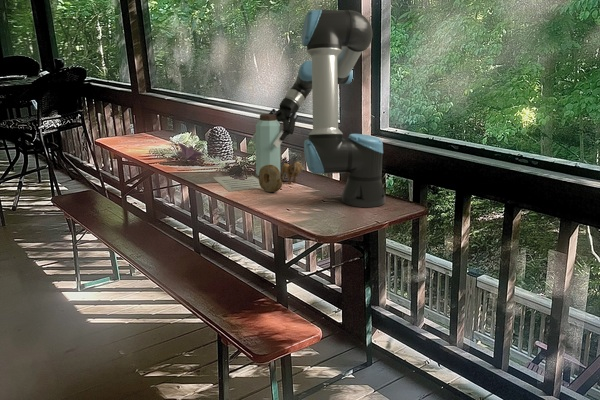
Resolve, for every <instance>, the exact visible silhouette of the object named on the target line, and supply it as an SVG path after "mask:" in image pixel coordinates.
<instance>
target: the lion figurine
mask: <svg viewBox="0 0 600 400" xmlns="http://www.w3.org/2000/svg"><path fill="white" fill-rule="evenodd" d="M281 166H282V167H281V174H280V178H281V181H282V182H284V181H285V179H286V178H287V179H288V185H292V182H293V184H298V181H296V179H297V177H298V175H300V174H301V172H303V171H304V169H305V167H304V166H302V165H301V162H299V161H294V162H292V163H290V164H289V163H283V165H281ZM292 178H293V179H292Z"/></svg>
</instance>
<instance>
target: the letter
mask: <svg viewBox="0 0 600 400" xmlns="http://www.w3.org/2000/svg"><path fill="white" fill-rule="evenodd" d="M251 175H252V176H251V177H248V178H247V179H245V180H239V179H234V178H232V177H230V176H231V175H225V176H214V177H212V179H213V180H215V181H216V182H217V183H218V184H219V185H220V186H222V187H223V188H224V189H225V190H227V191H228V192H234V191H246V190H256V189H257V190H258V189H262V188H261V186H260V184H259V178H257V177H256V176H254V175H253V174H251Z"/></svg>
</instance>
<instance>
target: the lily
mask: <svg viewBox="0 0 600 400" xmlns="http://www.w3.org/2000/svg"><path fill="white" fill-rule="evenodd" d="M178 147H179V148H180V151H177V152H176V154H177V155H179V156H182V157H184V160H185V163H184V164H185V165H184V167H186V165H187V162H186V161H187V160H190V161H193V162H195V161H199V160H198V158H199V157H202V156H204V155H205V154H204V153H202V152H201V151H198V150H195V149H194V146H193V145H190V146H189V147H188V146H186V145H184V144H183V143H180V142H178Z"/></svg>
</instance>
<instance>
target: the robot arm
mask: <svg viewBox="0 0 600 400" xmlns="http://www.w3.org/2000/svg"><path fill="white" fill-rule="evenodd" d="M372 27H373V26H372V25H371V23H370V21H369V20H368V19H367V17H366V16H364V15H363V14H362V13H361V12H358V11H357V10H353V9H352V10H350V9H347V10H346V9H345V10H342V9H341V10H340V9H321V8H320V9H311V10H309V11H307V12H306V14H305V17H304V20H303V26H302V32H301V45H302V46H303V47H305V48H306V52H307V54H308V55H309V56H310V57H311V60H306V61H304V62H303V63H302V64H301V65H300V67H299V69H298V71H297V72H298V73H297V76H296V79H295V82H294V83H293V85H292V86H291V88H290V89H289V90H288V92H287V93H286V94H285V96H284V98H283V99H282V100H281V102H280V103H279V108H278V109H277V110H276V109H275V108H272V109H271V111H270V112H268V114H274V115H276V119H277V121H278V122H279V123H280V122H281V123H282V127H283V128H282V130H280V134H279V135H278V137H277V138H276V140H275V141H274V143H273V145H274V146H275V147H276V148H278V147H279V145H280V146H281V144H282V143H283V141H284V140H285V139H286V137H287V136H289V135H293V134H294V130H295V127H296V121H297V119H298V118H299V115H298V114H297V112H298V111H299V108H301V106H302V105H303V103H304V101H305V100H306V99H307V98H308V96H309V94H310V93H312V100H311V101H312V130H310V131H309V133H308V138H306V139H305V140H304V141H303V153H304V154H303V155H304V159H305V164H306V166H307V169H308V171H309V172H310V173H312V174H319V175H320V174H321V175H324V174H347V179H346V180H347V181H346V183H345V186H344V189H343V192H342V195H341V202H342V203H343V204H345V205H347V206H352V207H357V208H358V207H359V208H375V207H380V206H383V205H385V204H386V194H385V189H384V185H383V182H382V174H383V173H382V171H383V154H384V144H383V140H382V139H380V138H379V137H377V136H373V135H370V134H369V135H368V134H364V133H363V134H362V133H351V134H349V135H348V138H344V133H343V132H342V130H340V128H339V96H338V95H339V94H338V93H339V92H338V91H339V88H338V85H343V86H344V85H350V83H351V82H352V79H353V80H354V78H353V70H352V69H354V67H355V65H356V64H357V61H358V59H359V58H360V57H361V55H362V53H363V52H364V51H366V50H367V49H368V48H369V46H370V44H371V43H372V42H373V41H372V39H373V28H372ZM352 83H353V82H352ZM352 83H351V84H352ZM250 140H251V141H252V142H253V143H254V144H256V131H255V132H254V133H253V135H252V137H251V138H250Z"/></svg>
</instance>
